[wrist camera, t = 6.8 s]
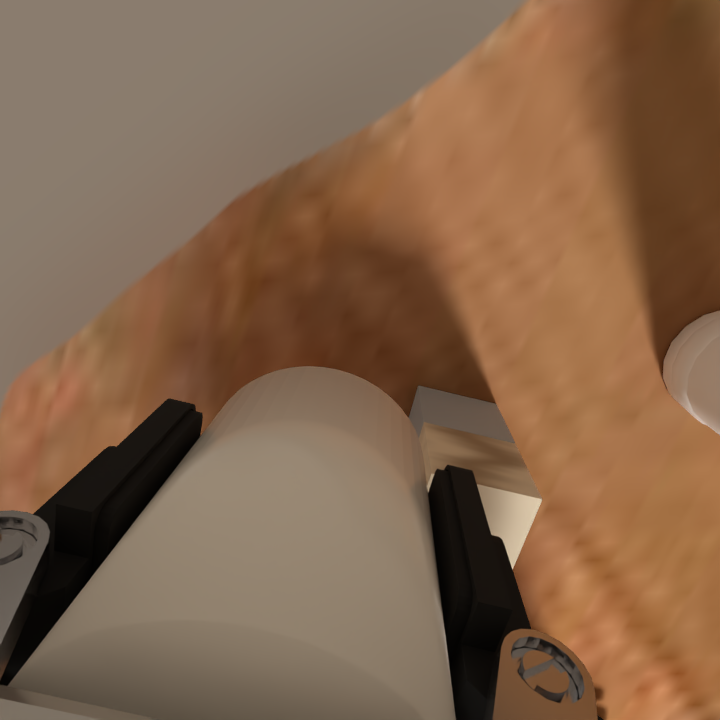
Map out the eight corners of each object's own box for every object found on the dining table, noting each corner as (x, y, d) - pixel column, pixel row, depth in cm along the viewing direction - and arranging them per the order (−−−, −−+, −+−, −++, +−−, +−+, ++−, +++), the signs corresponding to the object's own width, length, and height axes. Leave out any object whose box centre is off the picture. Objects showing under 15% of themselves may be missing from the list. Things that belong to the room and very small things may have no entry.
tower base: (496, 403, 38) (514, 442, 32) (472, 471, 40) (485, 519, 34) (418, 385, 38) (423, 421, 32) (397, 454, 40) (399, 499, 34)
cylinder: (451, 396, 11) (537, 691, 5) (393, 578, 13) (396, 986, 6) (222, 341, 11) (-23, 564, 5) (194, 532, 13) (-17, 899, 6)
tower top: (515, 443, 32) (542, 499, 27) (486, 519, 34) (505, 586, 29) (423, 421, 32) (431, 473, 26) (399, 499, 34) (402, 563, 28)
